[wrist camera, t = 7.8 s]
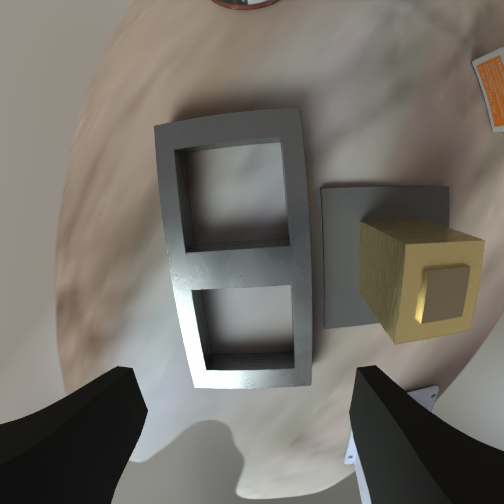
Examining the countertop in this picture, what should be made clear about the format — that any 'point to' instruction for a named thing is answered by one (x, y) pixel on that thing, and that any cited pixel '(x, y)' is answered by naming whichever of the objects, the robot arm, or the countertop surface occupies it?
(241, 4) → the supplement bottle
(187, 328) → the grey rectangular frame
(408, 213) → the mat
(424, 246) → the gold drawer box
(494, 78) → the skincare box
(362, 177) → the countertop surface
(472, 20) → the countertop surface
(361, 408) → the robot arm
